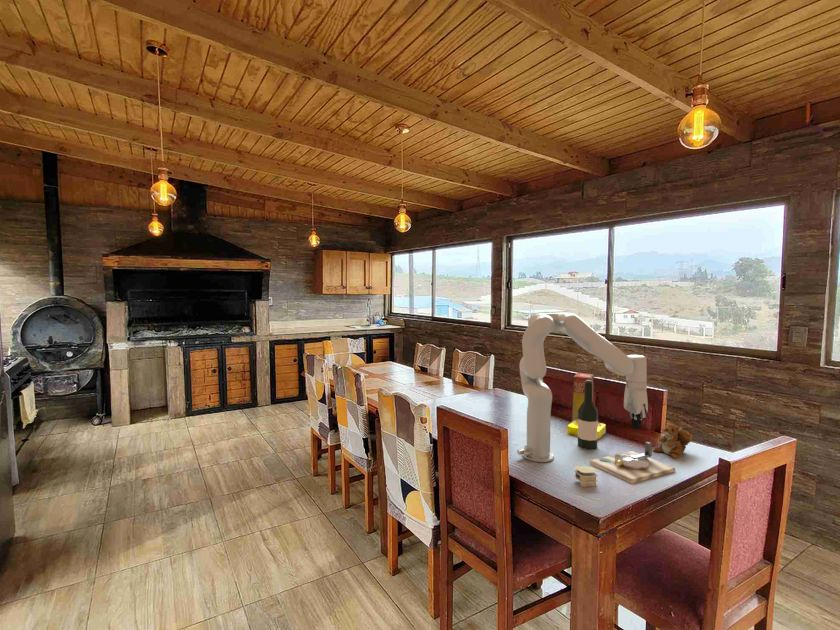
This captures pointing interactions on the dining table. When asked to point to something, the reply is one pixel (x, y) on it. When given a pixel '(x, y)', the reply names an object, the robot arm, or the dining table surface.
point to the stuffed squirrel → (673, 440)
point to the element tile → (573, 429)
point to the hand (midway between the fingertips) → (636, 428)
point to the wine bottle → (588, 420)
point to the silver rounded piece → (635, 458)
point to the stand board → (632, 474)
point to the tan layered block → (586, 475)
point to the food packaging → (579, 392)
